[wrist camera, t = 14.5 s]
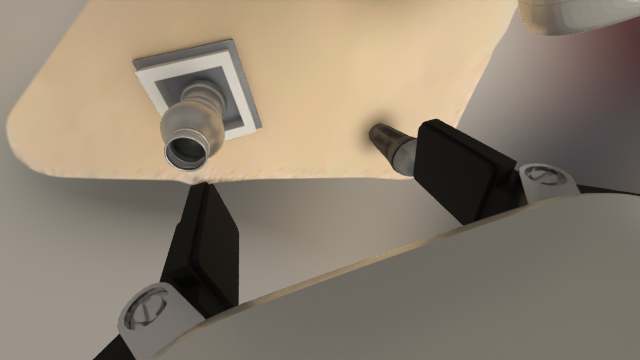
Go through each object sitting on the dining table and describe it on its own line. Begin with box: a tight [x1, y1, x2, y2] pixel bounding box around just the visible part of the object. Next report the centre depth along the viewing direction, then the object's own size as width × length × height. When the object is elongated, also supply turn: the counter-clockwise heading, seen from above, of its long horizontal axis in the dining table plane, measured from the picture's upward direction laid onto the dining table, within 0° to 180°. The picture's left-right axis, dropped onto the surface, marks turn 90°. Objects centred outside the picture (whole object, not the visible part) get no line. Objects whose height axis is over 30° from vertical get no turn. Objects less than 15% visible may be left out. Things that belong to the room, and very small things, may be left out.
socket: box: [132, 39, 262, 141], centre depth 36 cm, size 14×14×5 cm
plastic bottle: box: [160, 80, 227, 172], centre depth 29 cm, size 6×7×20 cm
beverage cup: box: [369, 124, 417, 177], centre depth 44 cm, size 7×7×20 cm
